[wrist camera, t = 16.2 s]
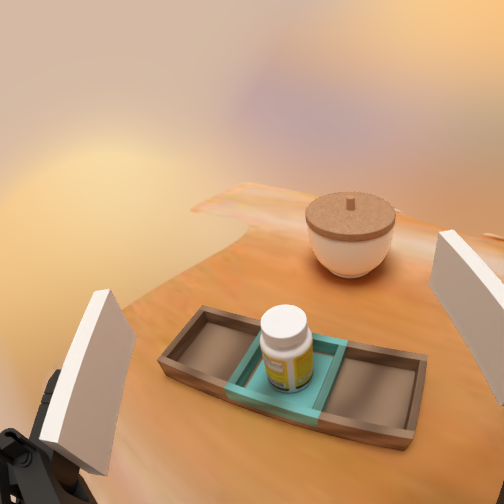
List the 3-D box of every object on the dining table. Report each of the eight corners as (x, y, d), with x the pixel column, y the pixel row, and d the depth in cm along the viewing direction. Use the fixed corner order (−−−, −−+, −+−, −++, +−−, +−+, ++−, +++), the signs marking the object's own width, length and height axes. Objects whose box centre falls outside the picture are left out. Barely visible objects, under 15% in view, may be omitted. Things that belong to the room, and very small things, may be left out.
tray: (166, 375, 35) (156, 359, 33) (208, 321, 41) (202, 305, 40) (404, 450, 22) (412, 439, 21) (421, 371, 29) (427, 355, 27)
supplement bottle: (310, 354, 33) (308, 298, 28) (316, 390, 29) (316, 337, 24) (266, 360, 33) (255, 304, 29) (268, 396, 29) (256, 344, 25)
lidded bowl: (293, 258, 50) (287, 193, 44) (356, 233, 54) (356, 173, 48) (340, 303, 40) (341, 230, 34) (406, 269, 43) (415, 201, 37)
